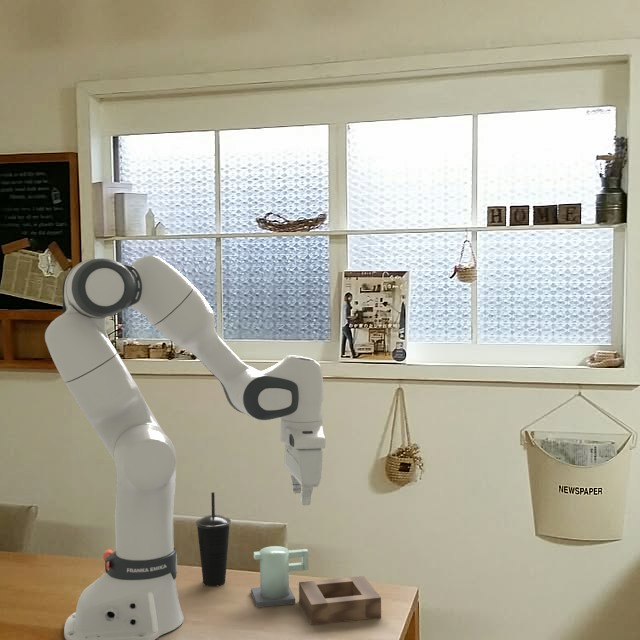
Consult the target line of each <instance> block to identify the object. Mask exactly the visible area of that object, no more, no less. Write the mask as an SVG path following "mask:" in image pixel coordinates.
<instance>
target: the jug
mask: <svg viewBox="0 0 640 640" xmlns="http://www.w3.org/2000/svg"><path fill="white" fill-rule="evenodd" d="M298 558H301V561H300V562H292V563H290V561H289V560H290V559H298ZM253 559H254V560H255V561H257V560H259V577H260V578H259V579H260V580H259V582H260V583H259V584H260V585H259V586H260V594H261V596H263V597H265V598H269V599H278V598H283V597H286V596H287V595H289V587H290V572H297V571H298V572H299V571H309V550H308V549H307V548H303V549H301V548H300V549H291V550H290V549H288V547H285V546H281V545H275V546H273V545H270V546H267V547H266V546H265V547H263V548H261V549H260V550H259V551H253Z"/></svg>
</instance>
